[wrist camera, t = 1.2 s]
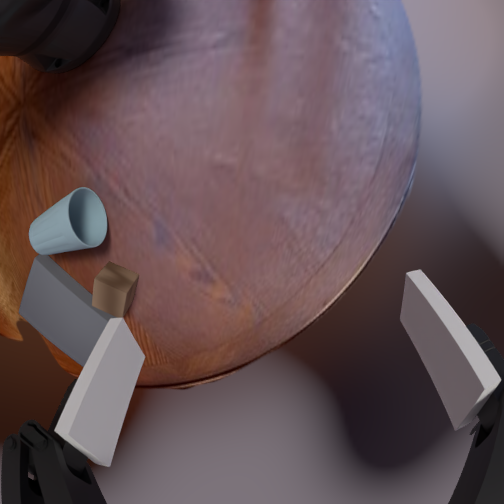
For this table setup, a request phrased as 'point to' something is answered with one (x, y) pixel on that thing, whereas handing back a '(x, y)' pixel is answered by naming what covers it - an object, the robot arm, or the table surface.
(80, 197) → the cup
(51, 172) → the table surface
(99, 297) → the walnut block
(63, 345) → the plinth
